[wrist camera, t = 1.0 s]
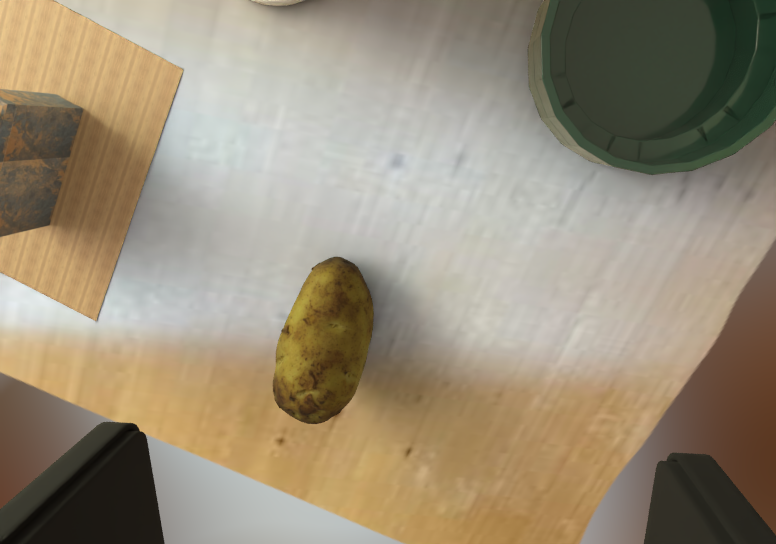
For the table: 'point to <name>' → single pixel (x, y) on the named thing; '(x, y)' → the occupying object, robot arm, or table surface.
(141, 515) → the robot arm
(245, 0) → the table surface
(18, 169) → the architectural model on board
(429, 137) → the table surface
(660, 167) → the green round dish
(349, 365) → the potato
